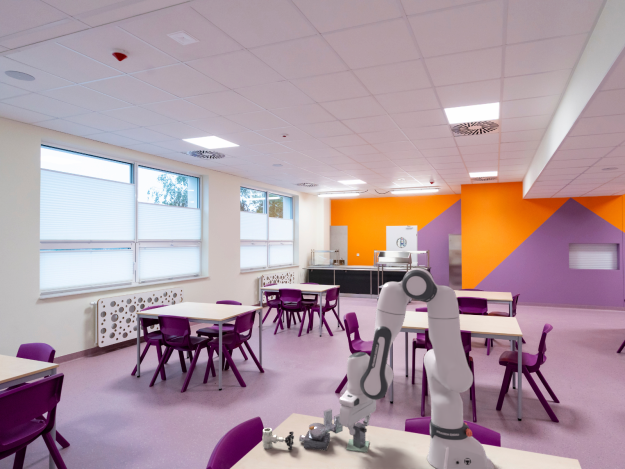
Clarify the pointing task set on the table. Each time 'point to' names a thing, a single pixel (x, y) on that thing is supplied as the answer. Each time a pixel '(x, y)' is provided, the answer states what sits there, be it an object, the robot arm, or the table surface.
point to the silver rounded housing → (325, 426)
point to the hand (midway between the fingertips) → (359, 429)
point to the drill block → (315, 442)
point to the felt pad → (353, 448)
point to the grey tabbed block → (359, 435)
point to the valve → (275, 439)
